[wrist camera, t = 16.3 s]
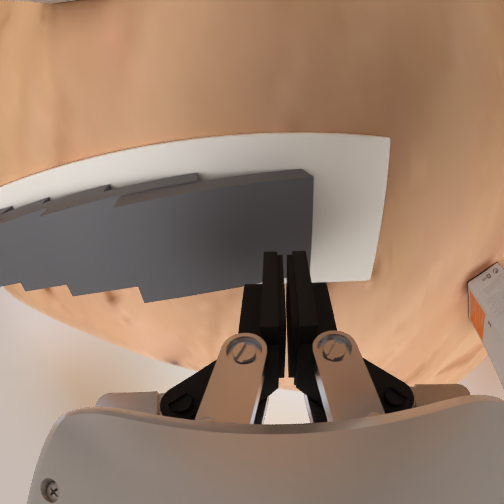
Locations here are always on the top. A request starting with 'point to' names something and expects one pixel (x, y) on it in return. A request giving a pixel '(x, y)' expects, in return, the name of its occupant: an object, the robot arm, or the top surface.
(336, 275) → the board
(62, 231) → the domino
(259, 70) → the top surface
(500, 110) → the top surface
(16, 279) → the domino
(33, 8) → the top surface
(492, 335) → the skincare box
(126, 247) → the domino
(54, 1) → the skincare box
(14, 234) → the domino
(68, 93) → the top surface
